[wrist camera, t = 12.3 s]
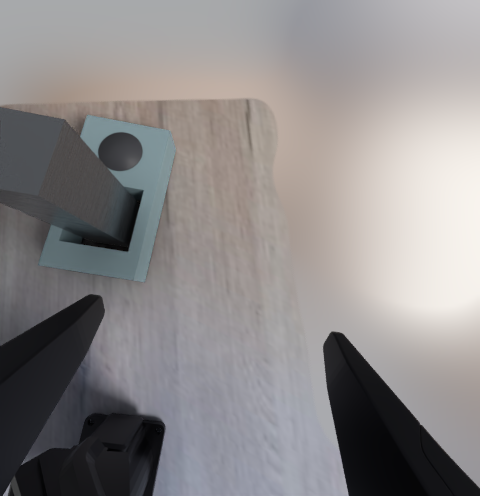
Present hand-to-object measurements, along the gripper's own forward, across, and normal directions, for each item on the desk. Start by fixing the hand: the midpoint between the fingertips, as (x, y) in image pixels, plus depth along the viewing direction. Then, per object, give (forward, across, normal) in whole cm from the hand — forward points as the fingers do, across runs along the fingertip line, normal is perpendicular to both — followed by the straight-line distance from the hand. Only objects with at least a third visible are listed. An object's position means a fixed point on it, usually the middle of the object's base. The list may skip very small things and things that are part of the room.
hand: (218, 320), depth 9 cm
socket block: (+15, +11, +4) cm, 19 cm away
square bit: (+14, +11, +5) cm, 18 cm away
